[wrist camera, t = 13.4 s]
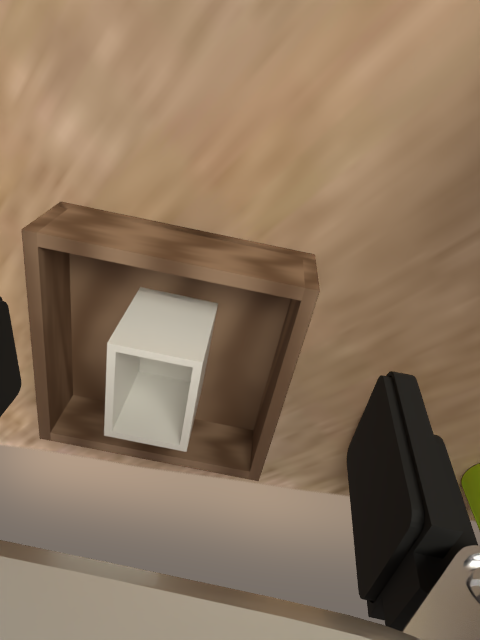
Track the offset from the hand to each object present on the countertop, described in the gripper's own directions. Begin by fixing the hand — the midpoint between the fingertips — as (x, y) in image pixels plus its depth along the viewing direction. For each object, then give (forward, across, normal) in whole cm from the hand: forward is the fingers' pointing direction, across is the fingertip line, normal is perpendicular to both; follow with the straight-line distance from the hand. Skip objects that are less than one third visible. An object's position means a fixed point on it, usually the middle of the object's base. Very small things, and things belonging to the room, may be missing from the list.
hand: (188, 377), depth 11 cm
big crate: (+23, +5, +16) cm, 29 cm away
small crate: (+22, +5, +16) cm, 28 cm away
